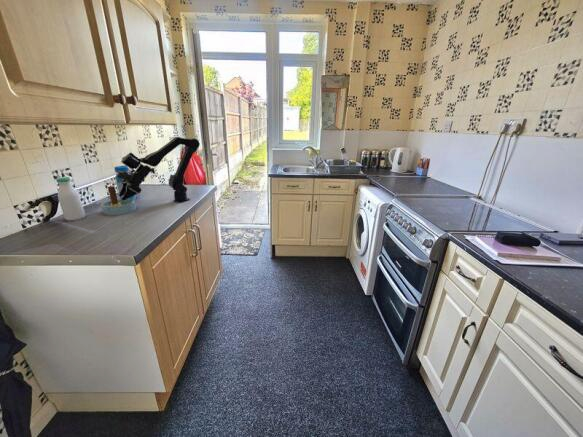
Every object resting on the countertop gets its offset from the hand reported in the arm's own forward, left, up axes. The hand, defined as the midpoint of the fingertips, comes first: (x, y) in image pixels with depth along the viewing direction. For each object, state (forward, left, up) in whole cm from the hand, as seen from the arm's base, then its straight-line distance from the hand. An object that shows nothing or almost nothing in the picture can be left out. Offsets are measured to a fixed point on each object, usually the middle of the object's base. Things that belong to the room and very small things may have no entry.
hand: (120, 198), depth 129 cm
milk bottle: (+17, -10, -7) cm, 21 cm away
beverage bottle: (-16, -19, -7) cm, 25 cm away
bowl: (+1, -1, -7) cm, 7 cm away
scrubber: (+3, -1, -6) cm, 7 cm away
